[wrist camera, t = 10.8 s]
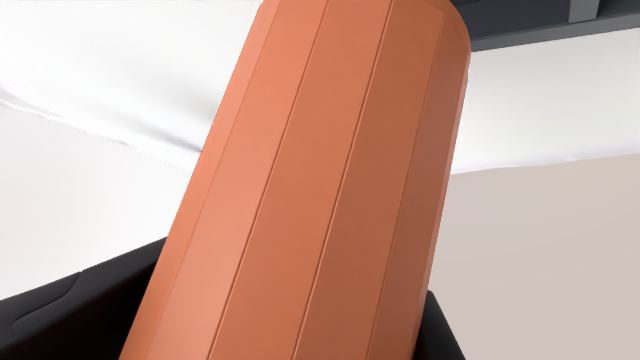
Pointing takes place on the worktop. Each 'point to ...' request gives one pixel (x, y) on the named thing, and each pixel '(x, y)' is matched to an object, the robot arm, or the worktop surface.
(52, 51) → the worktop surface
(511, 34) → the divided grey tray
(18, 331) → the robot arm
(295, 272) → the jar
